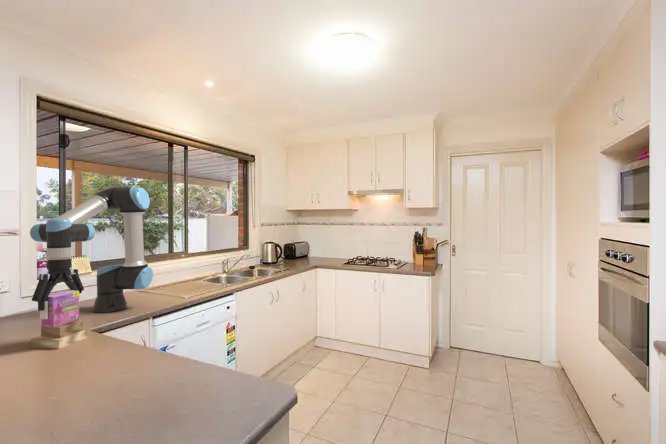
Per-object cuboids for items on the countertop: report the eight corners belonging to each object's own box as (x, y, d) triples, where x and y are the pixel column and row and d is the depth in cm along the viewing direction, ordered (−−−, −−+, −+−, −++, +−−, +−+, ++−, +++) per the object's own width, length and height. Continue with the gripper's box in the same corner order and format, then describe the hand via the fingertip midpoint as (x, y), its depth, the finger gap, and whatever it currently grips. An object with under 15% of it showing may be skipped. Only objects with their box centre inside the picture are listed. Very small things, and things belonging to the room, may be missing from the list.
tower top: (64, 328, 136) (64, 319, 136) (82, 330, 134) (82, 320, 134) (41, 336, 127) (41, 326, 127) (60, 338, 125) (60, 327, 125)
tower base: (61, 338, 137) (61, 328, 137) (87, 339, 135) (87, 329, 135) (30, 349, 125) (30, 338, 125) (58, 351, 123) (58, 340, 123)
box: (53, 328, 125) (53, 296, 124) (41, 327, 126) (40, 295, 125) (79, 319, 135) (79, 290, 135) (68, 318, 136) (67, 289, 136)
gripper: (78, 255, 143) (79, 305, 143) (17, 262, 119) (18, 323, 119) (94, 255, 142) (94, 306, 142) (36, 262, 118) (36, 324, 118)
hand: (59, 314), depth 130 cm, fingers open, 12 cm apart
